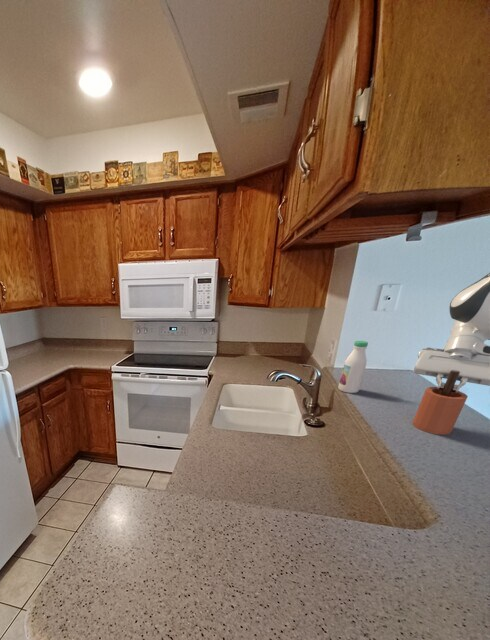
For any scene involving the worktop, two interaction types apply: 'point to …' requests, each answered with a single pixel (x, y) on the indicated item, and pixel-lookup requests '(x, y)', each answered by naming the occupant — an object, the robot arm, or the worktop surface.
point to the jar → (438, 411)
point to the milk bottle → (354, 368)
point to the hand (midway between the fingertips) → (447, 390)
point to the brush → (450, 383)
